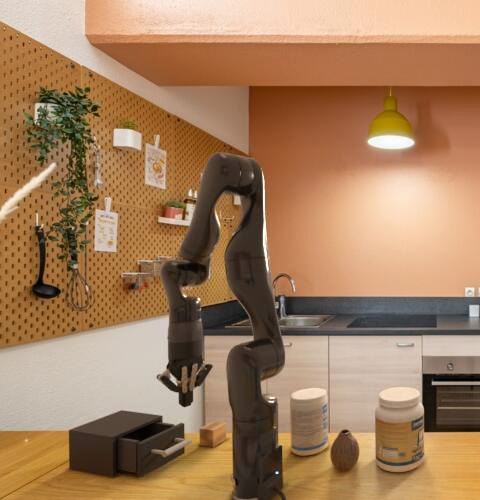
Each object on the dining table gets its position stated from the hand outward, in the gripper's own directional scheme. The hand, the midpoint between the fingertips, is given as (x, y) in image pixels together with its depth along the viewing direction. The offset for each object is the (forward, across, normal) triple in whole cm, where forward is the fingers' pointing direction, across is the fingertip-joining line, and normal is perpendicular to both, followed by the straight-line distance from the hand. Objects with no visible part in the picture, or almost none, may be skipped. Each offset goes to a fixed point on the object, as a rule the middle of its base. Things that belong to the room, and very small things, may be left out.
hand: (186, 405), depth 103 cm
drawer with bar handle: (+13, -6, +4) cm, 15 cm away
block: (+14, +9, +3) cm, 17 cm away
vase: (+14, +18, -38) cm, 44 cm away
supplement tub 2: (+14, +27, -47) cm, 56 cm away
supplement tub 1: (+14, +20, -22) cm, 33 cm away
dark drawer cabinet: (+14, -9, +15) cm, 22 cm away
